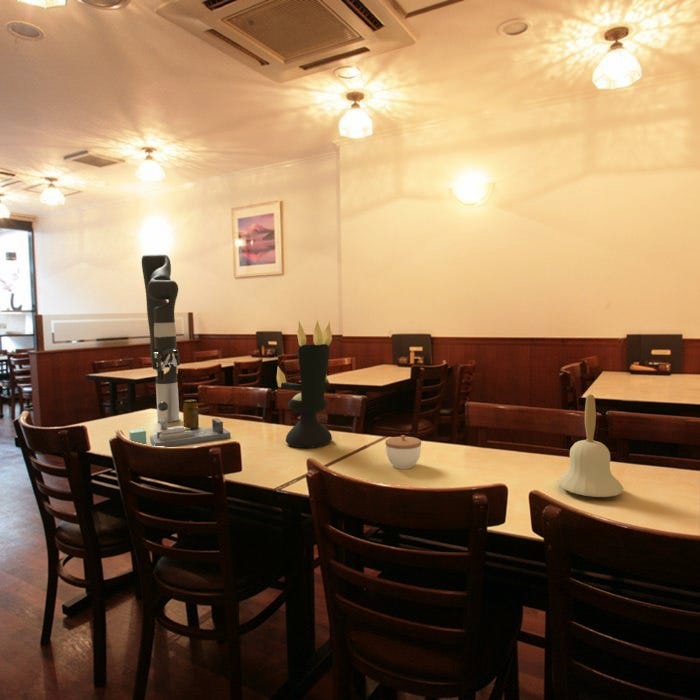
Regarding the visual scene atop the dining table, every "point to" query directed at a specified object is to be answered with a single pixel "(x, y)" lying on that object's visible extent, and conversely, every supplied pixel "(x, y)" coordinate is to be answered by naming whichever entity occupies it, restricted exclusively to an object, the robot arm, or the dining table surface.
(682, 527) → the dining table surface
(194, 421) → the condiment
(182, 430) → the ram
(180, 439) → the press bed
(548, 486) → the dining table surface
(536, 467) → the dining table surface
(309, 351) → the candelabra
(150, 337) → the robot arm
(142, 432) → the housing
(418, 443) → the lidded jar
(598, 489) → the handbell
